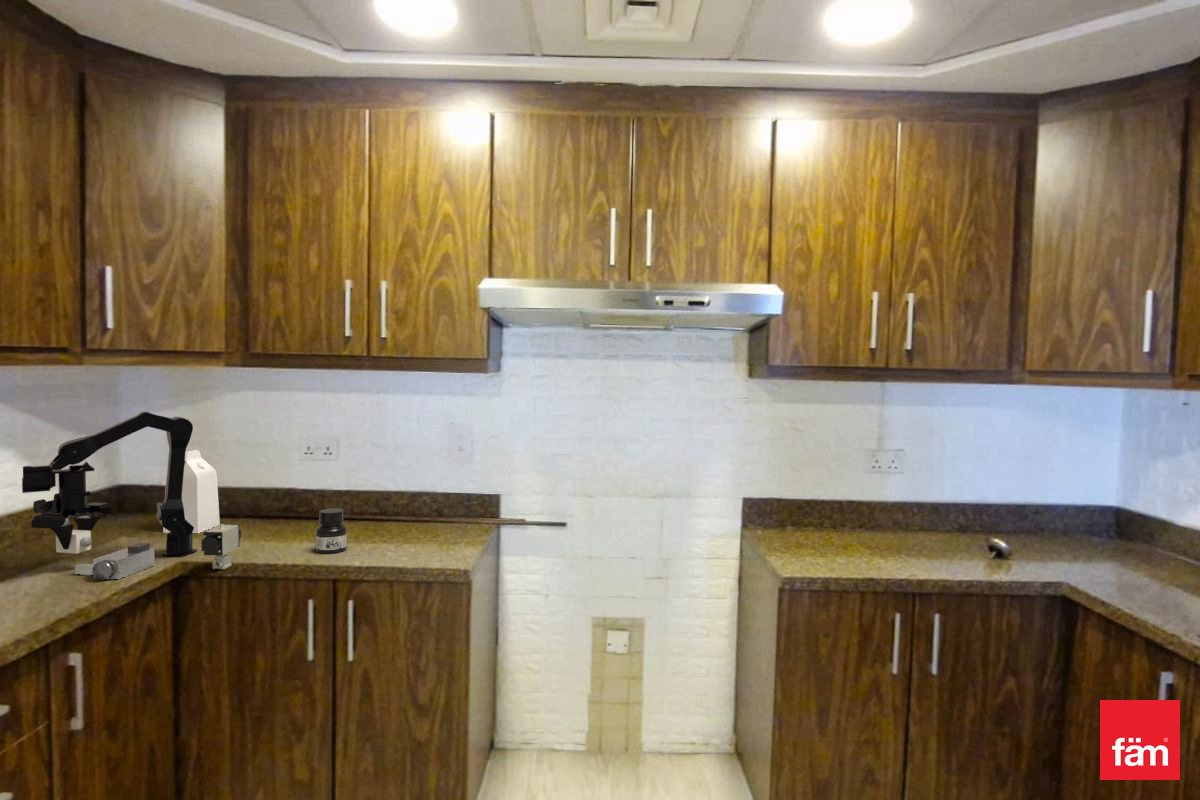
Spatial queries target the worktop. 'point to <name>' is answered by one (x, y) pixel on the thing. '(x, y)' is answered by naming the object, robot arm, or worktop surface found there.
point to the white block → (76, 542)
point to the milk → (199, 493)
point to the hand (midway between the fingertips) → (73, 546)
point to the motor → (119, 562)
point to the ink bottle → (331, 532)
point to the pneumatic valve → (221, 544)
